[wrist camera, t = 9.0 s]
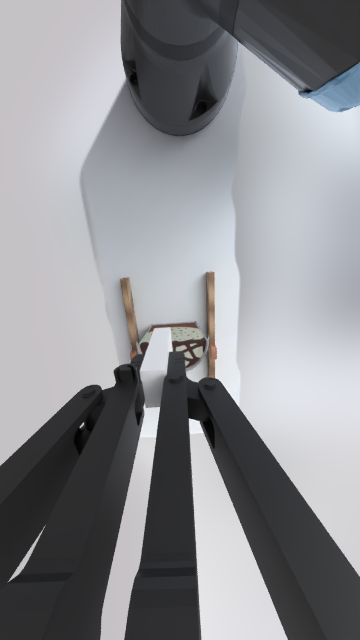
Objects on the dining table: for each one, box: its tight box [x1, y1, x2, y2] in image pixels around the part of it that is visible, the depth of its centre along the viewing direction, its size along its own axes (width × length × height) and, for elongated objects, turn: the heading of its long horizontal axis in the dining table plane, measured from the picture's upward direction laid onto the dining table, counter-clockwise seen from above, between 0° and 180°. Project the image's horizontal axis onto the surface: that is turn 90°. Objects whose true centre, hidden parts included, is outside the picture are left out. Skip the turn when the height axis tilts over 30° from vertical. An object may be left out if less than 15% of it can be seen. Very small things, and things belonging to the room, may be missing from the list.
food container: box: [136, 321, 209, 372], centre depth 34 cm, size 12×6×10 cm, turn 94°
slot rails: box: [120, 272, 217, 378], centre depth 37 cm, size 27×17×4 cm, turn 4°
